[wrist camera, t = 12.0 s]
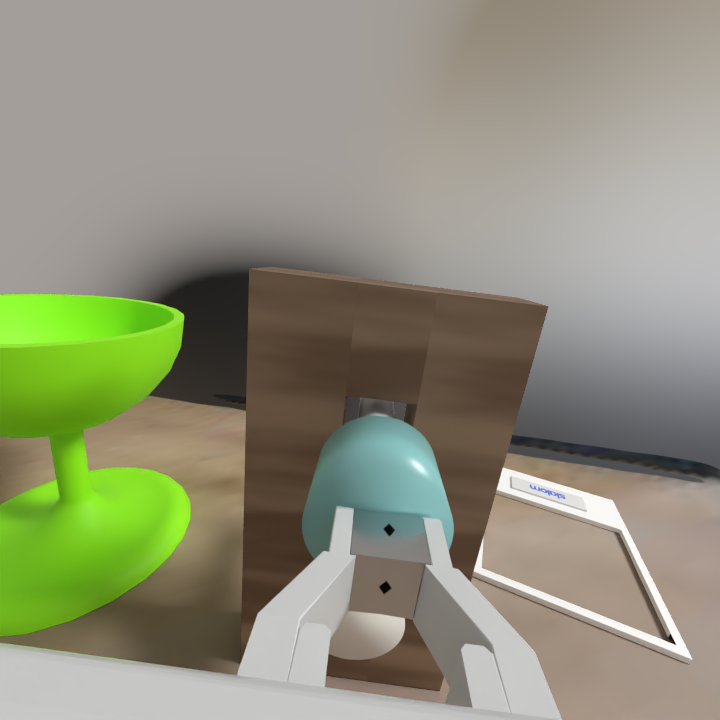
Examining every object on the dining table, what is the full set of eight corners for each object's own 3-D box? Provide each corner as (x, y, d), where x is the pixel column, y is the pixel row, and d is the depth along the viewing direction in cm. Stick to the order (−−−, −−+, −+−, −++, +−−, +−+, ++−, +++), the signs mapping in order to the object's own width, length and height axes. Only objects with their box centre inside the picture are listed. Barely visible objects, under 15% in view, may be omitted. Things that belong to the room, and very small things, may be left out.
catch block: (439, 690, 20) (548, 306, 13) (240, 663, 20) (249, 268, 14) (431, 636, 23) (517, 297, 16) (257, 613, 23) (271, 266, 16)
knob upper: (438, 597, 10) (468, 476, 9) (297, 578, 10) (307, 455, 9) (404, 414, 23) (415, 351, 21) (339, 406, 23) (346, 342, 21)
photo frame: (613, 499, 39) (693, 657, 23) (609, 506, 40) (687, 668, 24) (482, 460, 44) (473, 569, 28) (480, 467, 44) (470, 579, 28)
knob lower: (396, 665, 15) (412, 592, 14) (299, 652, 15) (306, 578, 14) (387, 484, 27) (395, 436, 26) (333, 477, 27) (338, 428, 26)
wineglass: (176, 456, 38) (169, 297, 33) (209, 566, 26) (205, 340, 21) (-33, 501, 29) (-90, 290, 24) (-135, 702, 17) (-297, 360, 12)
